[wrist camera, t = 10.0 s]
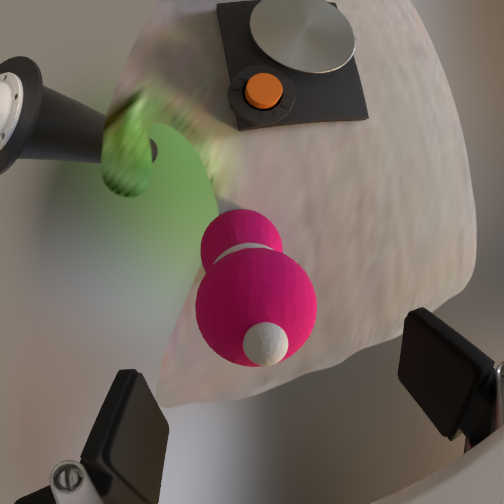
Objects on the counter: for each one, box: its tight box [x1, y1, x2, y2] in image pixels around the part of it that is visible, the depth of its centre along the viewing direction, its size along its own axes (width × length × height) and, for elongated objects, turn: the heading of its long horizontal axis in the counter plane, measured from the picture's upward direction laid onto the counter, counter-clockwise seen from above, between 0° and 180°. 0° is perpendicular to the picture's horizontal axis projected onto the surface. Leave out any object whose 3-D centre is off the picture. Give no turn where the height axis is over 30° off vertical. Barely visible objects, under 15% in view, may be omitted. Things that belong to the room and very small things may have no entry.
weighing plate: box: [249, 0, 355, 75], centre depth 21 cm, size 11×11×1 cm
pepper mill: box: [195, 209, 317, 367], centre depth 19 cm, size 7×7×20 cm
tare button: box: [245, 73, 282, 109], centre depth 22 cm, size 3×3×2 cm
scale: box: [217, 0, 369, 131], centre depth 23 cm, size 15×16×3 cm
